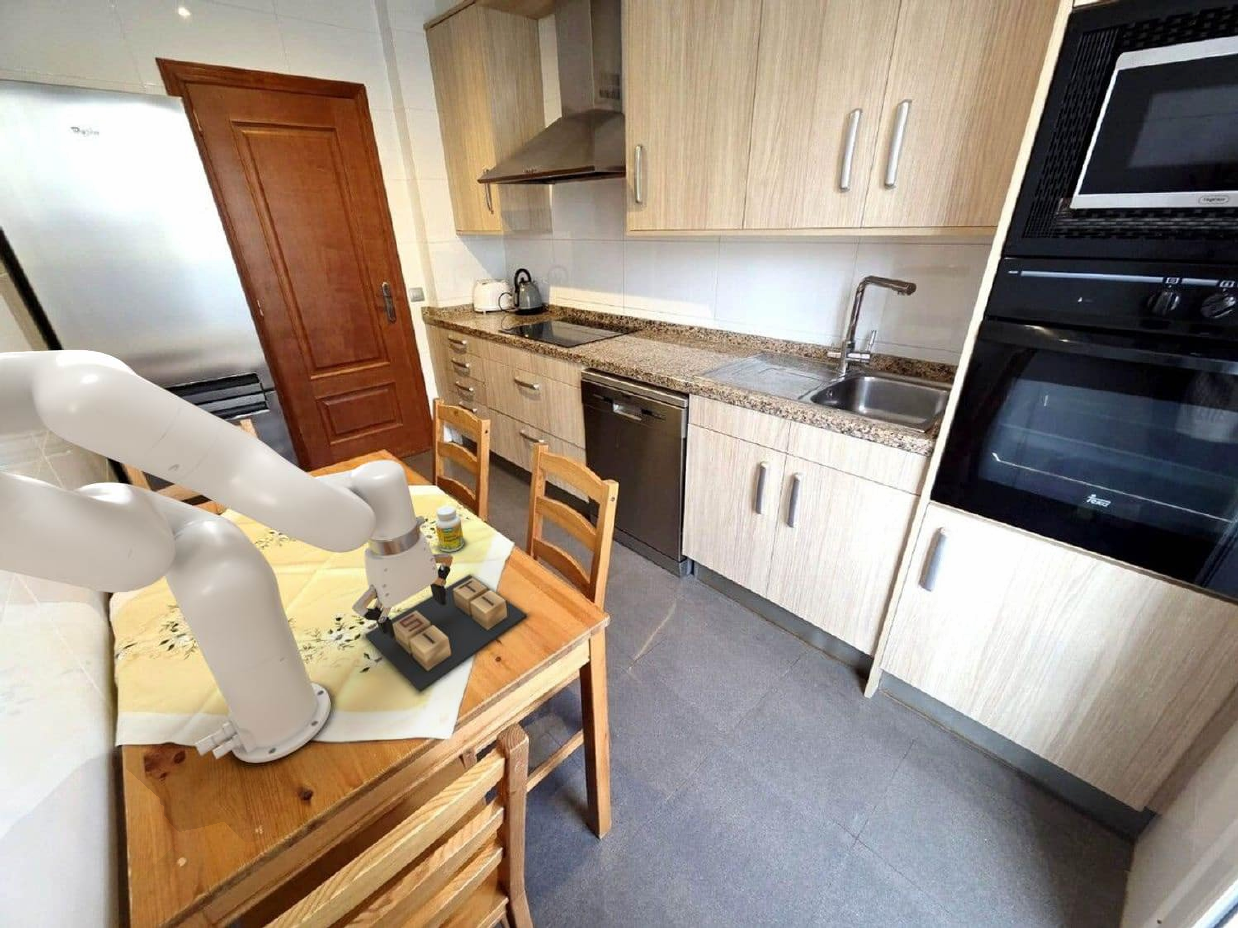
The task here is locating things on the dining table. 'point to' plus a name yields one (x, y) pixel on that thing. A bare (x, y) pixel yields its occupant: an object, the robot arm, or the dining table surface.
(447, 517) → the supplement bottle
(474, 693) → the dining table surface
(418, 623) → the tile
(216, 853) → the dining table surface
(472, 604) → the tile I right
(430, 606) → the word mat
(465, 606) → the tile
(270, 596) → the robot arm
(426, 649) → the tile
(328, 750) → the dining table surface
